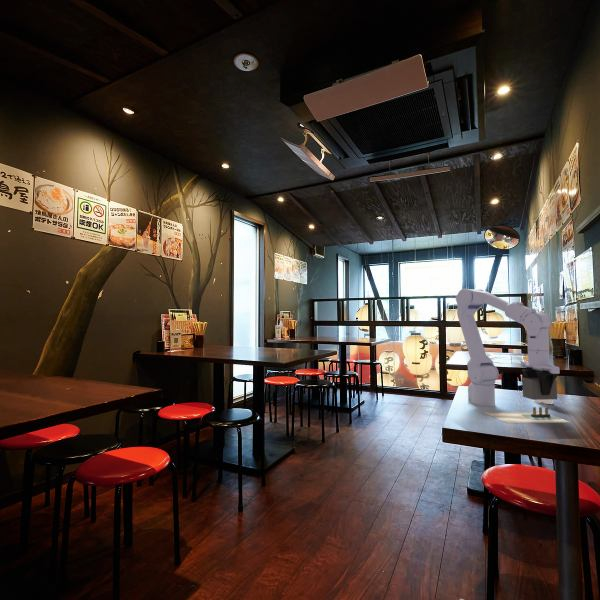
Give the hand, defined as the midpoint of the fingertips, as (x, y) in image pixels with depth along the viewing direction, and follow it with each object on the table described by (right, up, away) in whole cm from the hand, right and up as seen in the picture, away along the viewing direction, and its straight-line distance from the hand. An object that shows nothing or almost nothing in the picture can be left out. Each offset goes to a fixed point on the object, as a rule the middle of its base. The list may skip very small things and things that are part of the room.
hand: (539, 393), depth 113 cm
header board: (-5, -9, -1) cm, 10 cm away
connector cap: (0, -1, 0) cm, 1 cm away
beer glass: (+19, -11, +25) cm, 33 cm away
